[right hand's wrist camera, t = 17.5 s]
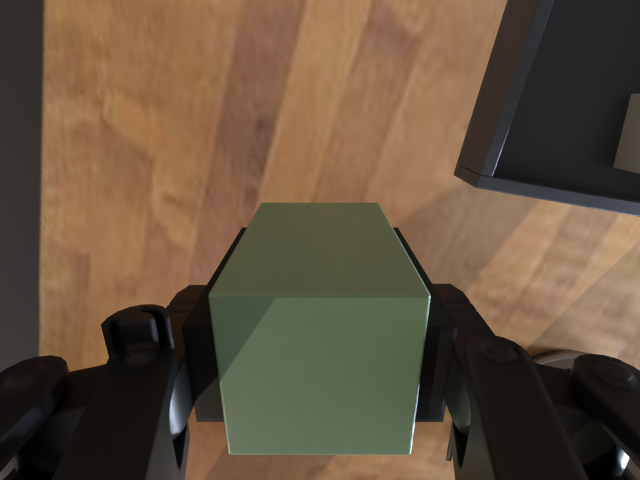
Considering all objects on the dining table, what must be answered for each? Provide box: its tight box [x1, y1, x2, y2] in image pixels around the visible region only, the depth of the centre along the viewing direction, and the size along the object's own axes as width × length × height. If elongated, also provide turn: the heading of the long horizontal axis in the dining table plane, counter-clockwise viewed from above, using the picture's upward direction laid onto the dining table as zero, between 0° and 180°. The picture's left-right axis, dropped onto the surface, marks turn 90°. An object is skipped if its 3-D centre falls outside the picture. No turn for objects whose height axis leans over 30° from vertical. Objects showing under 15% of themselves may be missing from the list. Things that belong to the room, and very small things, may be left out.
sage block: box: [208, 203, 431, 455], centre depth 11 cm, size 4×4×7 cm
